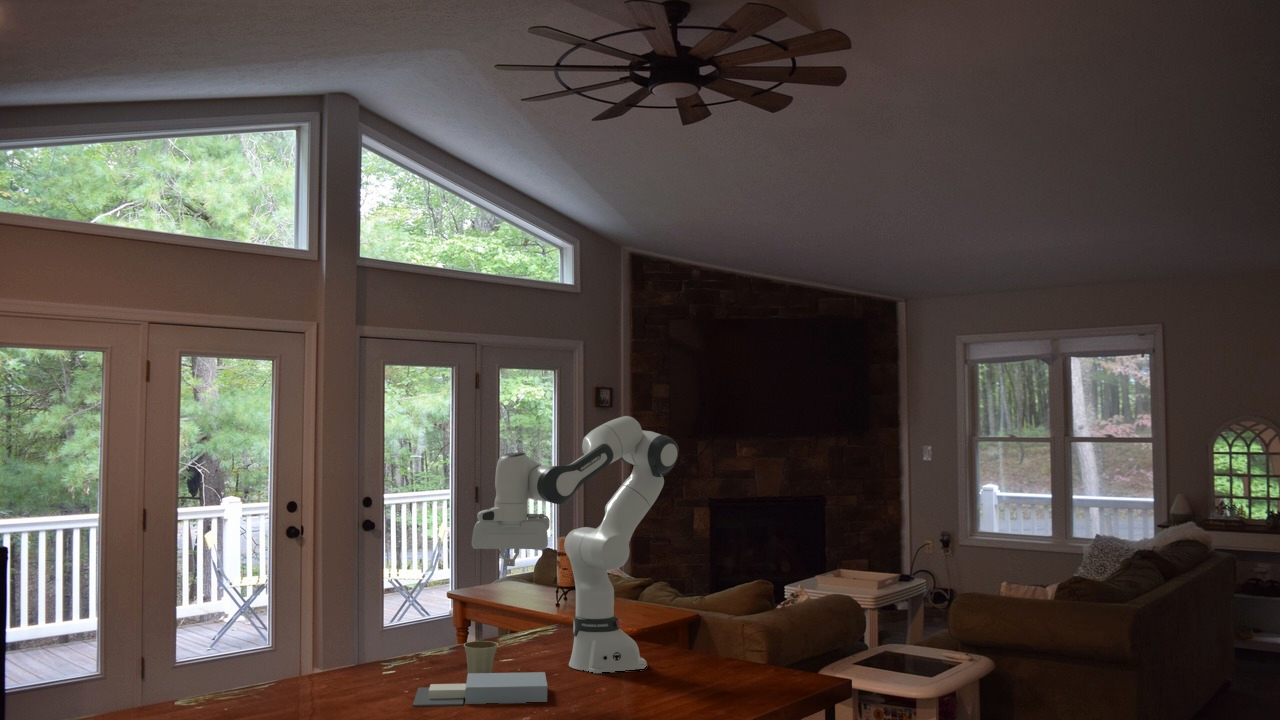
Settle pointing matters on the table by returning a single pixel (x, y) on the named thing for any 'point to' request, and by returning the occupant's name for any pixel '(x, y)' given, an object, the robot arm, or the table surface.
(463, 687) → the cream flat block
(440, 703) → the mat
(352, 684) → the table surface
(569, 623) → the table surface
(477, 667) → the flower pot
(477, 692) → the plate
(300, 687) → the table surface
